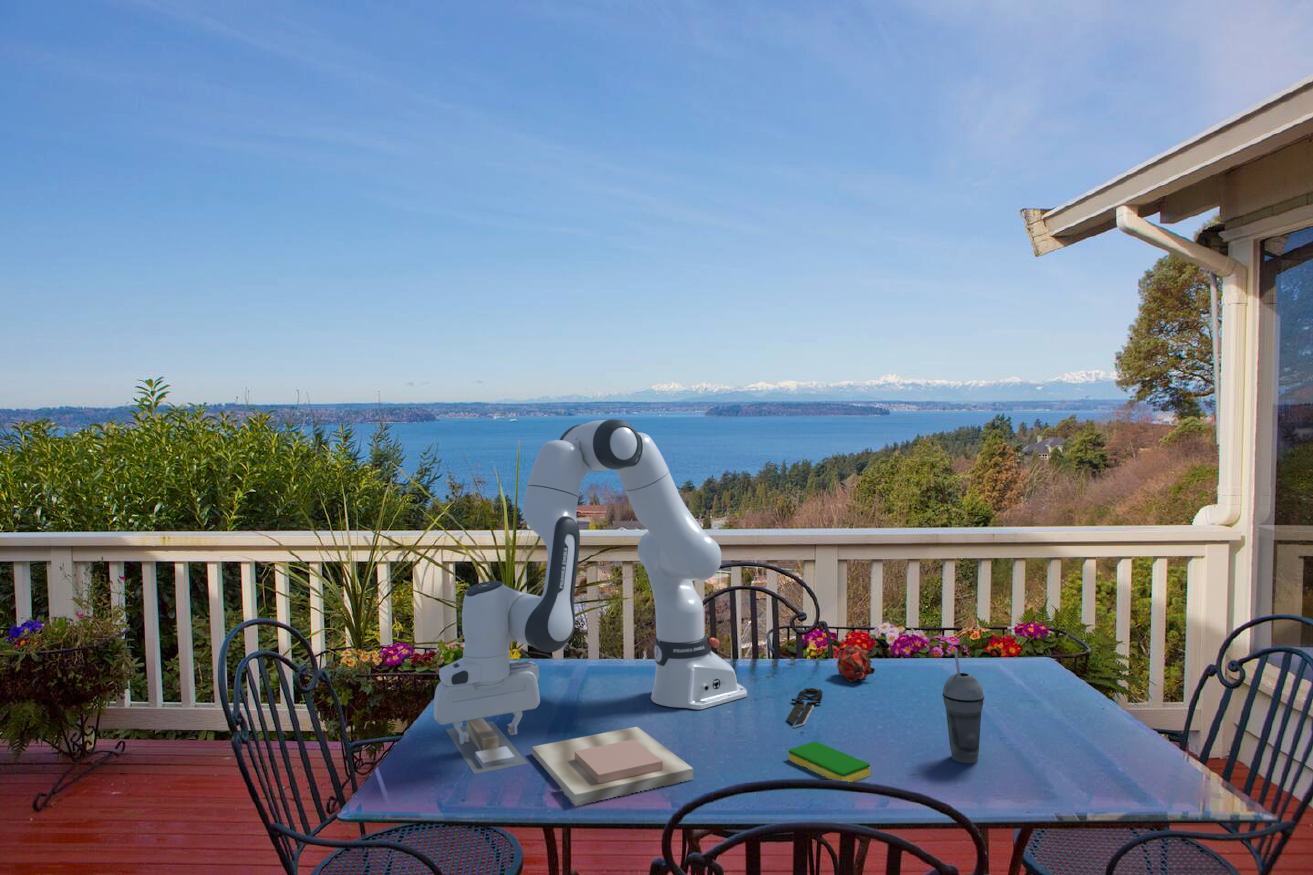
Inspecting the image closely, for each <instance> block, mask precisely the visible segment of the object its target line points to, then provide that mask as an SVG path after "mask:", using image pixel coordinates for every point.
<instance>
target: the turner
mask: <svg viewBox="0 0 1313 875" xmlns="http://www.w3.org/2000/svg"><path fill="white" fill-rule="evenodd" d="M487 722H488V721H486V720H485V718H478V719H473V720H467V721H466V726H467V733H468V734H469V736H470V738H471V739H472V741H473V742H474V743H475V745H476V746H477V748H478V749H479V750H480V751H477V752H475V757H476V759H477V760H478V762H479V763H480V765H481V766H482V767H483V768H487V767H492V766H497V765H502V764H507V763H512V762H515V756H514V755H513V754H512V752H511V751H510V750H509V749H508V747H507V746H504V747H499V741H498V736H497V735H496V733H495V732H494V731H493V730H492V729H491V727H490V726H489V725H488V724H487Z"/></svg>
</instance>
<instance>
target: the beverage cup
mask: <svg viewBox="0 0 1313 875" xmlns="http://www.w3.org/2000/svg"><path fill="white" fill-rule="evenodd" d="M953 651H954V660H955V666H956V673H954V674H952V675H951V676H949V677H948V678H947V680H946V681H945V683H944V685H943V690H942V698H943V702H944V706H945V713H946V722H947V730H948V739H949V748H950V753H951V759H952V760H953V761H955V762H957V763H962V764H975V763H977V762H978V760H979V752H980V739H981V738H980V737H981V736H980V735H981V722H982V721H981V720H982V710H983V705H984V701H985V695H984V691H983V687H982V685H981V684H980V682H979V681H978V680H977V679H976V678H975V677H974V676H972V674H969V673H966V672H961V670H960V663H959V656H958V655H959V654H958V649H957V648H954V649H953Z"/></svg>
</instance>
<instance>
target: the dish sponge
mask: <svg viewBox="0 0 1313 875" xmlns="http://www.w3.org/2000/svg"><path fill="white" fill-rule="evenodd" d="M789 760H790V761H789ZM788 761H789V762H791V761H792V763H793V762H794V764H796V765H798V766H800V767H802V766H804V767H807V768H808V769H807V770H809V769H810V770H809V771H811V770H812V771H811V772H813V771H815V772H816V773H815V772H814V773H815V774H817V773H819V774H821V775H820V776H822V777H824V776H826V777H825V778H826V779H829V780H830V779H835V780H842V781H848V782H851V783H853V782H857V781H859V780H861V779H864V778H867V777H870V776H871V767H870V766H871V764H870V762H867V761H864V760H862V759H859V758H857V757H855V756H853V755H849V754H848V753H845V752H842V751H841V750H839V749H836V748H833V747H831V746H828V745H825V744H823V743H821V742H818V741H812V742H808V743H806V744H802V745H800V746H796V747H793V748H789V749H788ZM804 767H803V768H804ZM819 774H818V775H819Z"/></svg>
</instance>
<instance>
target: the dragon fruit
mask: <svg viewBox="0 0 1313 875" xmlns="http://www.w3.org/2000/svg"><path fill="white" fill-rule="evenodd" d="M869 655H870V653H869V651H868V650H865V649H862V648H861V647H860V646H858V645H854V646H853V645H847V646H846V647H845V648H844V649H843V650H841V651H840V652H838V654H837V658H838V659H837V663H836V667H837V669H838V673H839V675H840V676H841V677H842V676H844V678H845V679H846V680H847V681H848V682H850V683H855V682H856V681H857V679H859V680H864V679H866V678H867V677H868V675H873V674H874V673H875V671H876V668H875V667H871V666H872V660H871V658H870V657H869Z"/></svg>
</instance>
